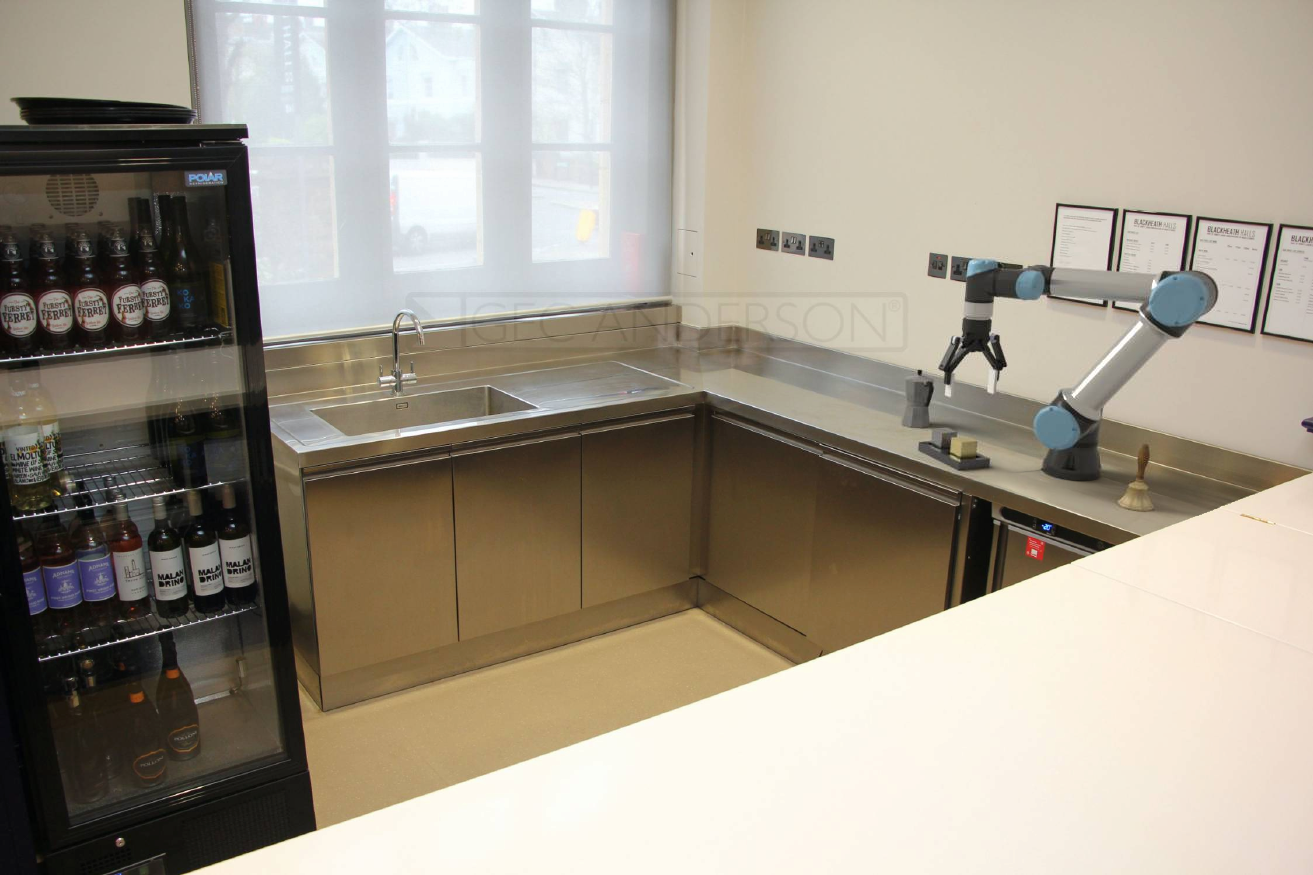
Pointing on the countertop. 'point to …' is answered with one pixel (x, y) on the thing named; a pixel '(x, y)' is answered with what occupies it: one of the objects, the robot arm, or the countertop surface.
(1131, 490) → the hand bell
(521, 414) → the countertop surface
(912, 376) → the coffeepot
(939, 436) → the grey block
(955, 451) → the yellow block
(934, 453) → the dark grey tray
